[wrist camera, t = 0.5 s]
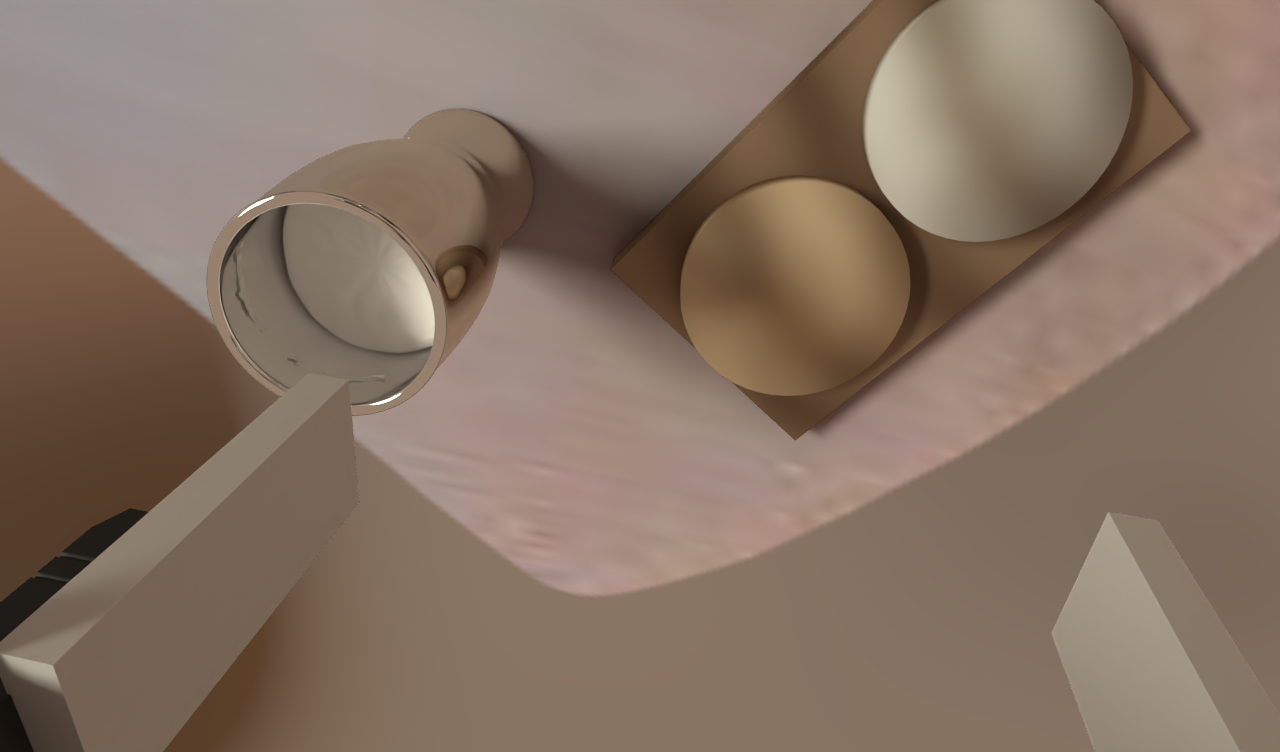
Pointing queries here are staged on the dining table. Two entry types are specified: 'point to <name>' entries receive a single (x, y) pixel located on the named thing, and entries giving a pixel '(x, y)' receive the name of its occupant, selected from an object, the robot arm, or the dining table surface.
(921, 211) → the board
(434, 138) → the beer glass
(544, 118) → the dining table surface
